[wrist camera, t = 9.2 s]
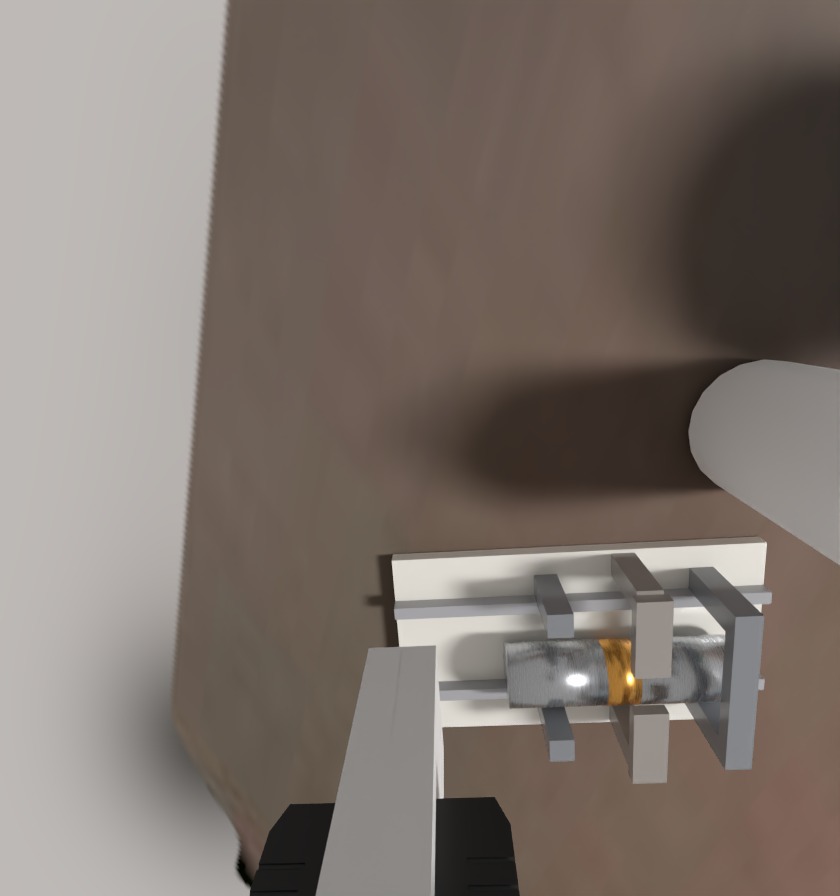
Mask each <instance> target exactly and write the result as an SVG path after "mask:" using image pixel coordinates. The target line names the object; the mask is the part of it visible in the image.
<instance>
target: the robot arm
mask: <svg viewBox="0 0 840 896" xmlns="http://www.w3.org/2000/svg"><path fill="white" fill-rule="evenodd" d="M250 896H520V895H519V889H518V879H517V872H516V864H515V856H514V849H513V841H512V833H511V825H510V823H509V821H508V819H507V818H506V816H505V814H504V812H503V811H502V809H501V807H500V806H499V804H498V802H497V801H496V799H495V797H483V798H444V748H443V734H442V721H441V707H440V693H439V680H438V666H437V652H436V645H433V646H408V647H384V648H369V650H368V655H367V659H366V664H365V669H364V673H363V678H362V683H361V687H360V692H359V696H358V701H357V706H356V710H355V715H354V720H353V724H352V729H351V733H350V738H349V743H348V747H347V752H346V757H345V761H344V766H343V771H342V775H341V780H340V784H339V789H338V794H337V798H336V803H325V804H290V805H289V807H288V808H287V809H286V811H285V812H284V813H283V815H282V816H281V817H280V818H279V820H278V821H277V822H276V824H275V825H274V826H273V828H272V829H271V830H270V832H269V835H268V838H267V841H266V844H265V847H264V850H263V853H262V856H261V859H260V862H259V869H258V870H257V871H256V874H255V877H254V880H253V883H252V886H251V889H250Z"/></svg>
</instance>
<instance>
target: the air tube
mask: <svg viewBox="0 0 840 896" xmlns="http://www.w3.org/2000/svg"><path fill="white" fill-rule="evenodd" d="M724 645H725V635H723V634H713V635H687V636H673V641H672V665H671V678H651V679H635V678H634V676H633V674H632V672H631V638H607V639H580V640H554V641H527V642H504V644H503V660H504V675H505V686H506V694H507V701H508V706H509V709H517V708H549V707H581V706H613V705H645V704H677V703H709V702H721V690H722V675H723V660H724Z"/></svg>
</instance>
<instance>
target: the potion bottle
mask: <svg viewBox="0 0 840 896" xmlns="http://www.w3.org/2000/svg"><path fill="white" fill-rule="evenodd" d="M688 434H689V441H690V449H691V453H692V455H693V457H694V459H695V461H696V463H697V465H698V467H699V469H700V470H701V471H702V472H703V473H704V474H705V475H706V476H707V477H708V478H709V479H711V480H712V481H713V482H714V483H715V484H716V485H718V486H719V487H721V488H722V489H724V490H725V491H727V492H729V493H730V494H732V495H733V496H735V497H736V498H738V499H739V500H741V501H742V502H744V503H745V504H747V505H748V506H750V507H751V508H753V509H755V510H756V511H758V512H759V513H761V514H762V515H764V516H765V517H767V518H768V519H770V520H771V521H773V522H774V523H776V524H777V525H779V526H781V527H782V528H784V529H785V530H787V531H788V532H790V533H791V534H793V535H794V536H796V537H797V538H799V539H800V540H802V541H803V542H805V543H806V544H808V545H810V546H811V547H813V548H814V549H816V550H817V551H819V552H820V553H822V554H823V555H825V556H826V557H828V558H829V559H831V560H832V561H834V562H836V563H837V564H839V565H840V370H838V369H832V368H825V367H819V366H813V365H807V364H801V363H794V362H788V361H778V360H766V359H763V360H759V361H754V362H750V363H745V364H741V365H738V366H737V367H735V368H733V369H731V370H729V371H727V372H726V373H724V374H722V375H720V376H719V377H718V378H717V379H716V380H715V381H714V382H713V383H712V384H711V385H710V386H709V387H708V388H707V389H706V390H705V391H704V392H703V393H702V395H701V397H700V399H699V400H698V402H697V404H696V406H695V408H694V409H693V411H692V416H691V421H690V426H689V431H688Z"/></svg>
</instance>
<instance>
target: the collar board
mask: <svg viewBox="0 0 840 896" xmlns="http://www.w3.org/2000/svg"><path fill="white" fill-rule="evenodd" d="M766 546H767V542H765V541H764V540H763V539H761V538H760V537H759V536H755V537H735V538H715V539H694V540H674V541H654V542H633V543H613V544H593V545H572V546H552V547H532V548H511V549H491V550H471V551H450V552H430V553H410V554H393V557H392V570H393V581H394V592H395V606H394V614H395V620H397V626H398V637H399V647H408V646H433V645H436V652H437V666H438V680H439V693H440V707H441V721H442V727H465V726H496V725H527V724H541V726H542V730H543V734H544V738H545V743H546V747H547V751H548V755H549V760H550V762H554V761H575V740H574V737H573V733H572V730H571V727H570V724H569V723H589V722H611V724H612V727H613V729H614V732H615V734H616V737H617V739H618V742H619V744H620V747H621V749H622V752H623V754H624V756H625V759H626V761H627V764H628V766H629V769H628V773H629V776H630V778H631V781H632V783H633V784H639V783H667V763H668V739H669V720H682V719H694V720H695V721H696V723H697V725H698V726H699V728H700V729H701V731H702V733H703V734H704V736H705V738H706V739H707V741H708V743H709V744H710V746H711V748H712V749H713V751H714V752H715V754H716V756H717V757H718V759H719V761H720V762H721V764H722V766H723V767H724V769H725V770H742V769H752V757H753V745H754V733H755V721H756V709H757V697H758V690H764V680H765V679H764V678H763V677H762V676H761V675H760V661H761V649H762V637H763V625H764V615H763V614H762V613H761V608H762V604H771V599H772V592H771V591H770V590H769V589H768V588H766V587H765V586H764V585H763V583H764V571H765V559H766ZM713 634H723V635H725V645H724V660H723V675H722V690H721V702H709V703H677V704H645V705H613V706H581V707H549V708H517V709H509V706H508V701H507V694H506V686H505V675H504V660H503V644H504V642H527V641H554V640H580V639H607V638H631V672H632V674H633V676H634V678H635V679H651V678H671V665H672V641H673V636H687V635H713Z"/></svg>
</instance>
